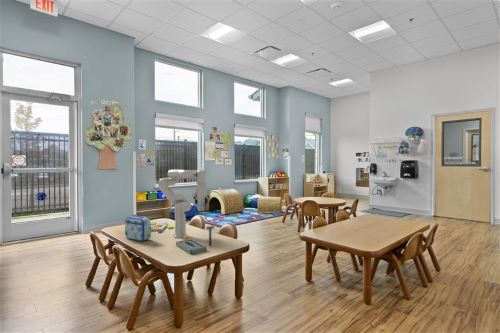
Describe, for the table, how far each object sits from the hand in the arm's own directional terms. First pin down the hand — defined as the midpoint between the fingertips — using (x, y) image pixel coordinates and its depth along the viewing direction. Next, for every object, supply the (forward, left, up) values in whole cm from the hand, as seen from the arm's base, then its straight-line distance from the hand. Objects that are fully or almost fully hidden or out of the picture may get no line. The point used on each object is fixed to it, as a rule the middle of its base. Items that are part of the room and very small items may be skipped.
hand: (201, 203), depth 242 cm
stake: (+19, -2, -32) cm, 38 cm away
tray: (+16, -18, -32) cm, 40 cm away
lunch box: (-37, -44, -33) cm, 66 cm away
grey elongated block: (+16, -18, -31) cm, 39 cm away
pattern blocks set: (-64, -18, -33) cm, 74 cm away
